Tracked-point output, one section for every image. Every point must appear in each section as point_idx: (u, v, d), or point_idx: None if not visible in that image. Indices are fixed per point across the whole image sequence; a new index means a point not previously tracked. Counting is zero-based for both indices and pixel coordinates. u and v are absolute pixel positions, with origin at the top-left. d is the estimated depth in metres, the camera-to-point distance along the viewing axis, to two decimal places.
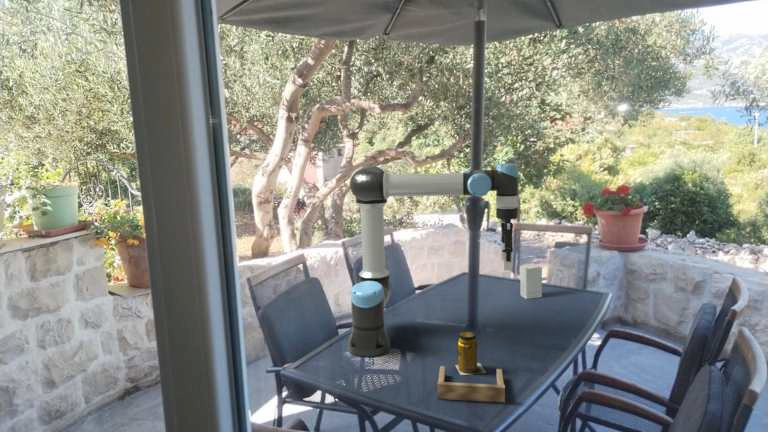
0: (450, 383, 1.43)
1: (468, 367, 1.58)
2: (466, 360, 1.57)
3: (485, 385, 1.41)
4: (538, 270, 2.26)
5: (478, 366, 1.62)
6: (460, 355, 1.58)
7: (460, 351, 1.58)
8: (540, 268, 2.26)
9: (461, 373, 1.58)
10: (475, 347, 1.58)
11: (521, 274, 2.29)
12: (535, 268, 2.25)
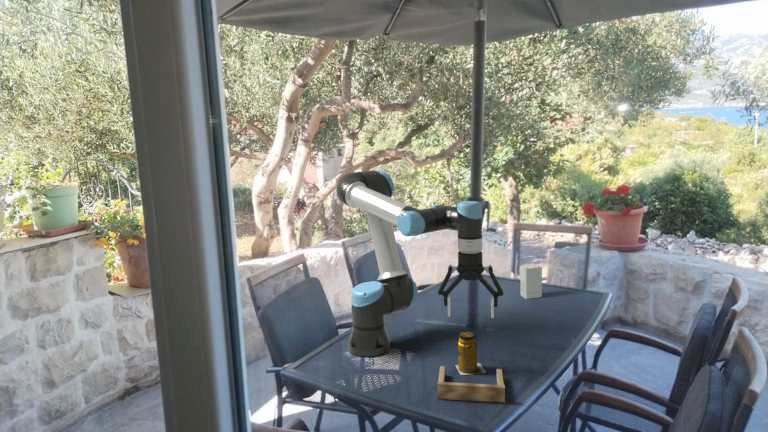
0: (450, 383, 1.43)
1: (468, 367, 1.58)
2: (466, 360, 1.57)
3: (485, 385, 1.41)
4: (538, 270, 2.26)
5: (478, 366, 1.62)
6: (460, 355, 1.59)
7: (460, 351, 1.58)
8: (540, 268, 2.26)
9: (461, 373, 1.58)
10: (475, 347, 1.58)
11: (521, 274, 2.29)
12: (535, 268, 2.25)
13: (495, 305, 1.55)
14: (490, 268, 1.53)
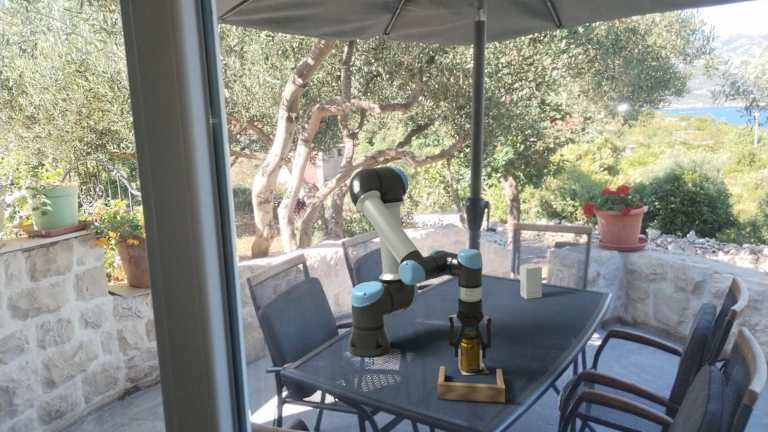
0: (450, 383, 1.43)
1: (470, 367, 1.57)
2: (468, 360, 1.57)
3: (485, 385, 1.41)
4: (538, 270, 2.26)
5: None
6: (462, 355, 1.58)
7: (462, 351, 1.58)
8: (540, 268, 2.26)
9: (463, 373, 1.58)
10: (477, 347, 1.57)
11: (521, 274, 2.29)
12: (535, 268, 2.25)
13: (483, 357, 1.59)
14: (489, 319, 1.56)
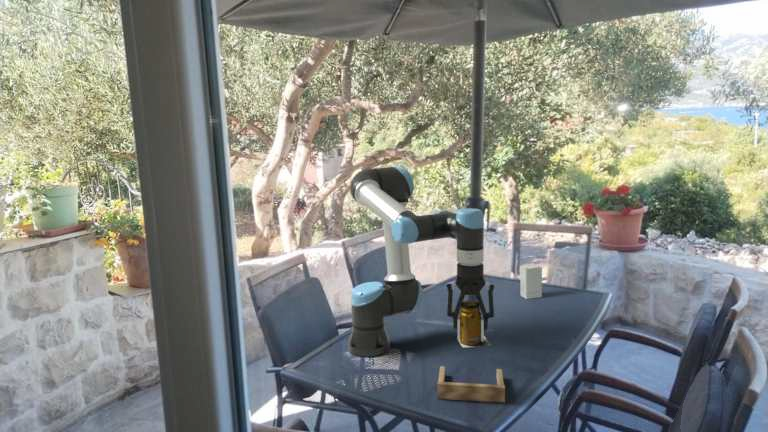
0: (450, 383, 1.43)
1: (470, 339, 1.42)
2: (469, 331, 1.42)
3: (485, 385, 1.41)
4: (538, 270, 2.26)
5: None
6: (462, 326, 1.43)
7: (462, 321, 1.43)
8: (540, 268, 2.26)
9: (463, 346, 1.43)
10: (479, 317, 1.42)
11: (521, 274, 2.29)
12: (535, 268, 2.25)
13: (485, 328, 1.44)
14: (492, 286, 1.41)
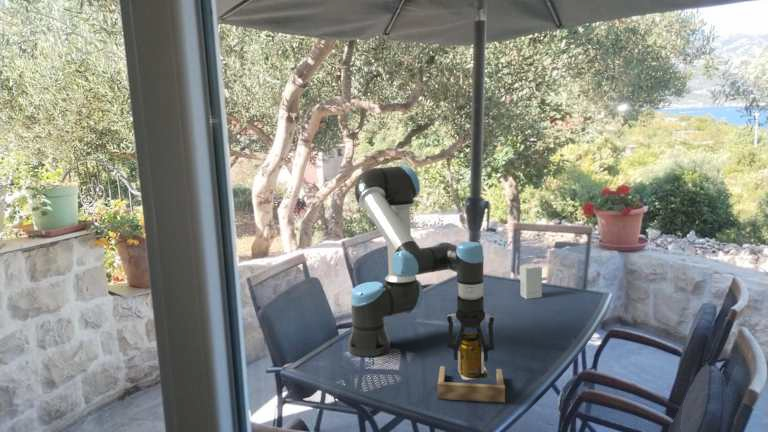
0: (450, 383, 1.43)
1: (471, 371, 1.44)
2: (469, 363, 1.44)
3: (485, 385, 1.41)
4: (538, 270, 2.26)
5: None
6: (462, 358, 1.45)
7: (462, 353, 1.45)
8: (540, 268, 2.26)
9: (463, 378, 1.44)
10: (479, 349, 1.44)
11: (521, 274, 2.29)
12: (535, 268, 2.25)
13: (485, 359, 1.45)
14: (492, 319, 1.42)
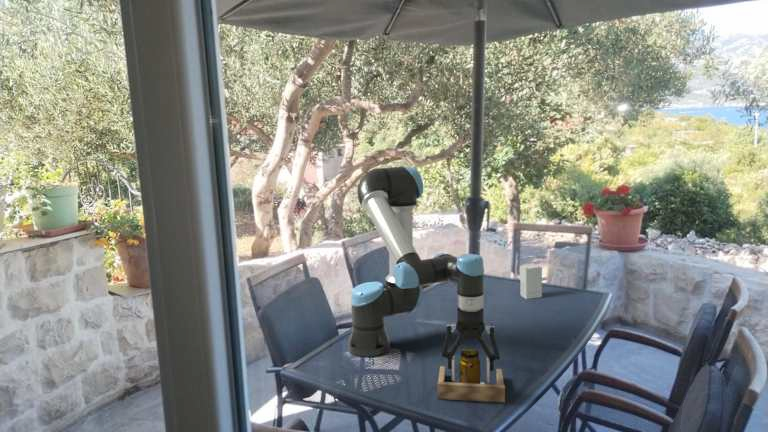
0: (450, 383, 1.43)
1: None
2: (468, 380, 1.45)
3: (485, 385, 1.41)
4: (538, 270, 2.26)
5: None
6: (462, 374, 1.46)
7: (462, 370, 1.46)
8: (540, 268, 2.26)
9: None
10: (478, 366, 1.45)
11: (521, 274, 2.29)
12: (535, 268, 2.25)
13: (491, 369, 1.45)
14: (492, 329, 1.43)
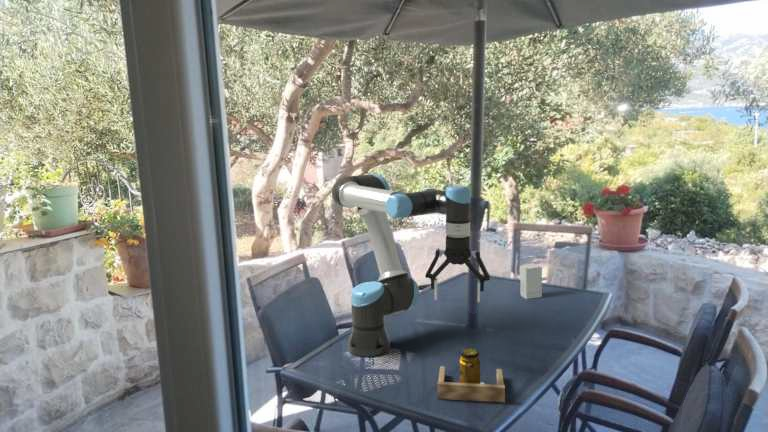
0: (450, 383, 1.43)
1: None
2: (468, 380, 1.45)
3: (485, 385, 1.41)
4: (538, 270, 2.26)
5: None
6: (462, 374, 1.46)
7: (462, 370, 1.46)
8: (540, 268, 2.26)
9: None
10: (478, 366, 1.45)
11: (521, 274, 2.29)
12: (535, 268, 2.25)
13: (481, 290, 1.56)
14: (477, 253, 1.54)
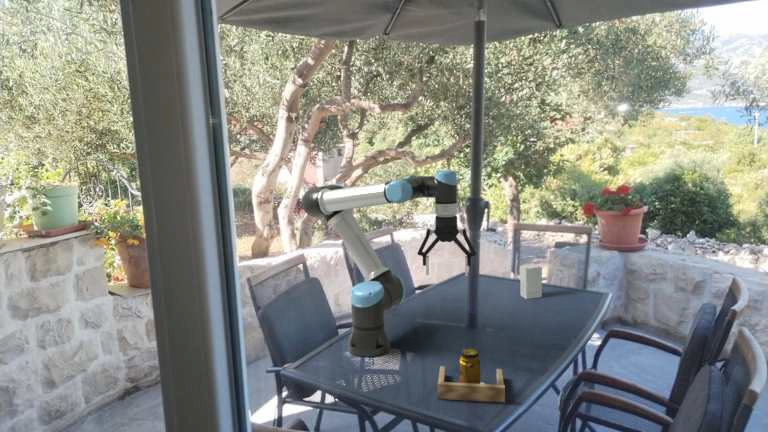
0: (450, 383, 1.43)
1: None
2: (468, 380, 1.45)
3: (485, 385, 1.41)
4: (538, 270, 2.26)
5: None
6: (462, 374, 1.46)
7: (461, 370, 1.46)
8: (540, 268, 2.26)
9: None
10: (478, 366, 1.45)
11: (521, 274, 2.29)
12: (535, 268, 2.25)
13: (469, 264, 1.72)
14: (464, 230, 1.70)
